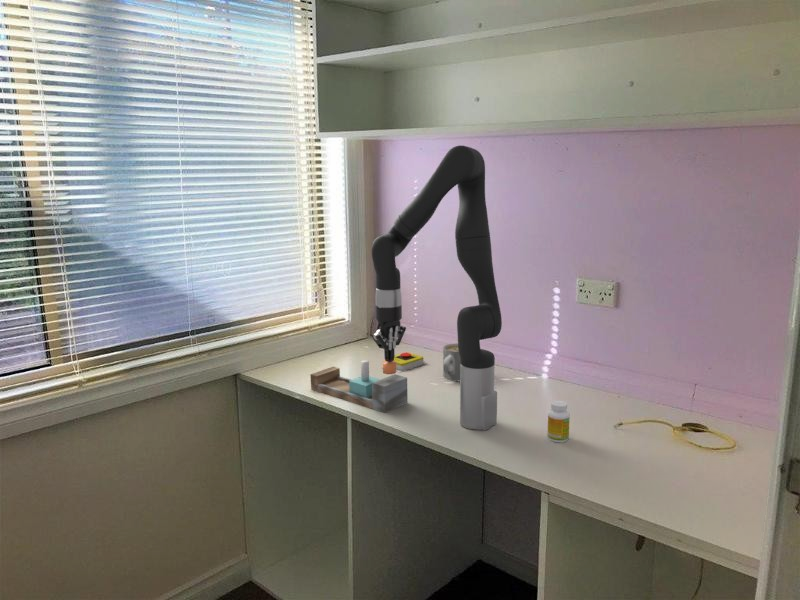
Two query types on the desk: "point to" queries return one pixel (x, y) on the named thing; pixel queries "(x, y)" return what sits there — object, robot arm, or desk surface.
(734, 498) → the desk surface
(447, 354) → the coffee mug
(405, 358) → the emergency button
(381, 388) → the rail
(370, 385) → the carriage
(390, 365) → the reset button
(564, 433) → the supplement bottle
